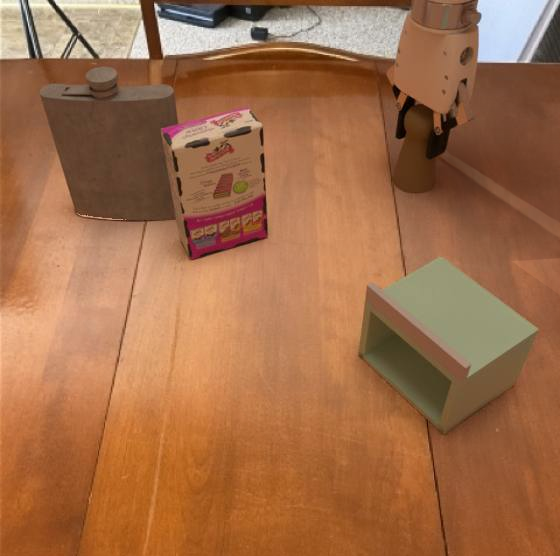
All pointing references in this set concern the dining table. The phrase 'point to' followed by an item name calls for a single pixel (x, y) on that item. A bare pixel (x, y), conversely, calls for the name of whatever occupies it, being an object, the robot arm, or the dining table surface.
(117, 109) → the hip flask
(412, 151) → the brown pawn
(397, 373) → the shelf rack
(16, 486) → the dining table surface
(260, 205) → the candy bar box
